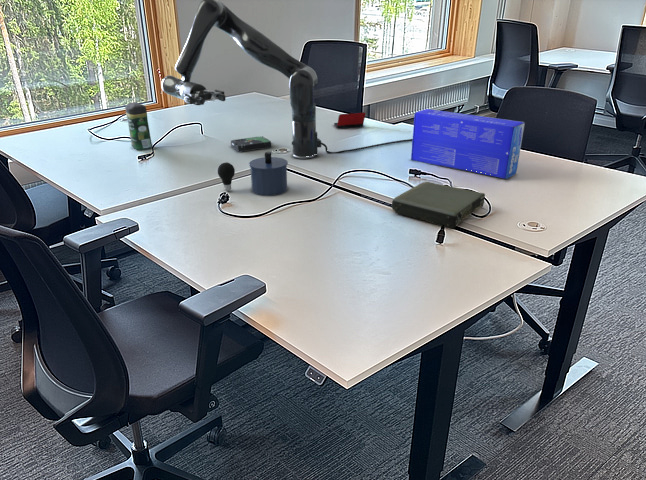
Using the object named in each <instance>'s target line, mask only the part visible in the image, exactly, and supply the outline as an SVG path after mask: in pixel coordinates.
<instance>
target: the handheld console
mask: <svg viewBox="0 0 646 480" xmlns="http://www.w3.org/2000/svg"><path fill="white" fill-rule="evenodd" d="M365 118H366V112H351V113H341V114H339V115H338V118H337V122H334V123H333V126H334V127H336V129H338V130H340V129H350V128H362V127H364V123H365Z"/></svg>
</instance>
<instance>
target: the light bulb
mask: <svg viewBox="0 0 646 480" xmlns="http://www.w3.org/2000/svg"><path fill="white" fill-rule="evenodd" d="M217 175H218V177H219V178H220V179H221V181H222V184H223V189H224V190H225V191H226V192H230V191H231V189H232V183H233V182H232V180H233V177H235V175H236V169H235V166H234V165H233V164H231V163H230V162H228V161H227V162H222V163H220V164H219V166H218V167H217Z"/></svg>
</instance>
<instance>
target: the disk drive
mask: <svg viewBox="0 0 646 480" xmlns="http://www.w3.org/2000/svg"><path fill="white" fill-rule="evenodd" d="M230 146H231V147H232V148H233V149H234V150H235V151H237V152H240V153H242V152H248V151H256V150H262V149H267V148H268V149H269V148H271V147H272V141H271V140H269V139H268V138H266V137H264V136H260V135H259V136H253V137H246V138H238V139H232V140H230Z"/></svg>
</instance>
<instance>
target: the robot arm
mask: <svg viewBox="0 0 646 480" xmlns="http://www.w3.org/2000/svg"><path fill="white" fill-rule="evenodd" d="M213 27H215V28H217V29H218V30H221V31H222V32H223V33H225V34H227V35H228V36H229V37H230V38H231V39H232V40H234V42H235V43H236V44H237V45H238V46H239V48H240V49H241V50H242V51H243V52H244V53H245V54H247V55H248V56H249V57H251V58H252V59H253V60H255V61H256V62H257V63H259V64H261V65H262V66H265V67H267V68H270V69H273V70H275V71H277V72H279V73H280V74H282V75H284V76H285V77H286V78H287V79H288V80H289V82H288V87H289V104H290V107H291V125H292V126H291V127H292V128H291V129H292V133H291V134H292V141H291V145H292V157H293V158H295V159H299V160H307V159H313V158H316V157H318V148H322V146H323V147H324V149H325V152H326V153H327V154H342V153H349V152H354V151H360V150H361V151H362V150H366V149H370V148H377V147H381V146H387V145H391V144H398V143H405V142H412V140H413V138H409V139H400V140H394V141H388V142H382V143H378V144H372V145H367V146H361V147H356V148H351V149H344V150H338V151H333V152H332V151H330V150H328V146H327V145H326V144H325V143H324V142H322V140H321V139H320V138H319V137H318V132H317V117H316V116H317V114H316V113H317V109H316V108H317V107H316V103H315V101H314V100H315V99H314V97H315V96H314V89H316V86H317V85H318V75H317V73H316V71H315V70H314V69H313V68H312V67H310V66H308V65H307V64H306V63H304V62H302V61H300V60H299V59H297V58H295V57H293V56H292V55H291V54H289V53H288V52H287V51H286V50H284V49H283V47H281V46H280V45H278V44H277V43H276V42H274V41H273V40H272V39H271V38H269V37H268V36H267V35H266V34H265V33H263V32H261V31H260V30H259V29H257V28H256V27H254V26H252V25H251V24H249V23H248V22H246V21H244V20H243V19H242V18H240V17H239V16H238V15H236V14H235V12H233V11H232V10H231V9H230V8H229V7H228V6H227V5H226V4H224V2H223V1H222V0H201V1H200V2H199V4H198V6H197V9H196V12H195V17H194V20H193V22H192V26H191V29H190V32H189V33H188V36H187V39H186V42H185V44H184V46H183V48H182V50H181V53H180V54H179V57H178V58H177V61H176V63H175V65H174V70H175V71H176V72H177V73H178V74H179V75H181V79H180V78H179V77H176V76H174V75H166V76H164V77H163V78H162V80H161V84H160V85H161V86H160V87H161V89H162V91H163V92H164V94H167V95H169V96H172V97H175V98H177V99H179V100H180V99H181V100H182V101H184V103H187V104H188V105H195V106H204V105H205V103H206V102H216V101H220V102H226V95H225V91H223V90H220V89H214V90H208V89H207V88H206V86H204V85H203V84H201V83H197V82H193V81H192V76H193V73H194V71H195V70H196V67H197V65H198V63H199V61H200V58H201V54H202V52H203V47H204V43H205V41H206V39H207V37H208V34H209V33H210V32H211V30H212V28H213ZM327 150H328V151H327ZM314 154H317V155H314ZM312 155H313V156H312ZM306 156H309V157H306Z"/></svg>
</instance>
